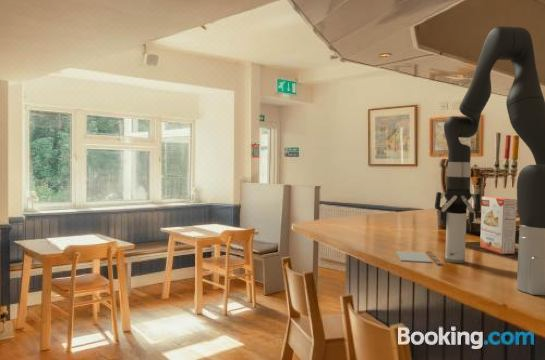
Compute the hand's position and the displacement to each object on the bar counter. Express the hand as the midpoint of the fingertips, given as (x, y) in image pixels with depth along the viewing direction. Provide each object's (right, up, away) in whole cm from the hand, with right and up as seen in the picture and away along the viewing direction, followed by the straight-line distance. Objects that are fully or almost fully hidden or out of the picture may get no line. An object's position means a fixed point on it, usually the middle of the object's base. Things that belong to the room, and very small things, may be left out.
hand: (456, 223), depth 156 cm
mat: (-13, -13, +6) cm, 19 cm away
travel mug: (0, -13, +1) cm, 13 cm away
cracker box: (+25, -13, +23) cm, 36 cm away
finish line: (-6, -13, +5) cm, 15 cm away
